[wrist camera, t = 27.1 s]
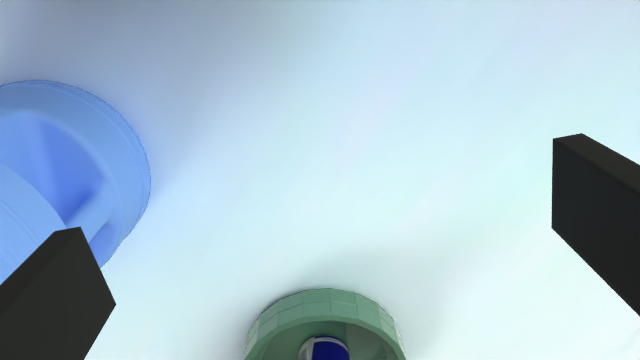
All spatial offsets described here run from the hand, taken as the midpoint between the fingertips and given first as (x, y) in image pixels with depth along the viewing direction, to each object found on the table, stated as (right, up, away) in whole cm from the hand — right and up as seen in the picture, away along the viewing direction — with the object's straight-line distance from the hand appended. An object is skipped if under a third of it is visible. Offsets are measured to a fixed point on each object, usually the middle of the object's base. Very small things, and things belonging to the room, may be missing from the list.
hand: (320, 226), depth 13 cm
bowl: (0, -17, +36) cm, 40 cm away
